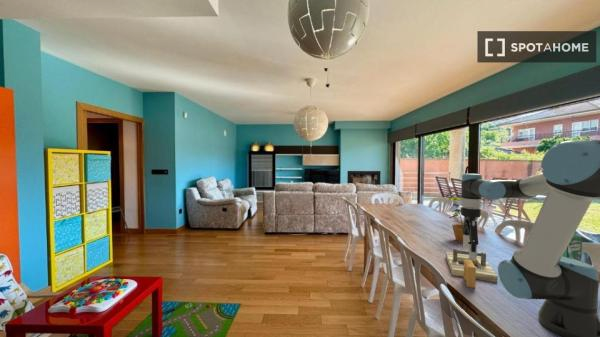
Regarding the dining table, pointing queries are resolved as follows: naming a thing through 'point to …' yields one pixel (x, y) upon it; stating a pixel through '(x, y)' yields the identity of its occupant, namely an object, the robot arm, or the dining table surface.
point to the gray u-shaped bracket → (455, 251)
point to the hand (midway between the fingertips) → (469, 253)
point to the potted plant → (457, 228)
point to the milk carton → (574, 248)
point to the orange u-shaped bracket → (469, 273)
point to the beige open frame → (482, 272)
